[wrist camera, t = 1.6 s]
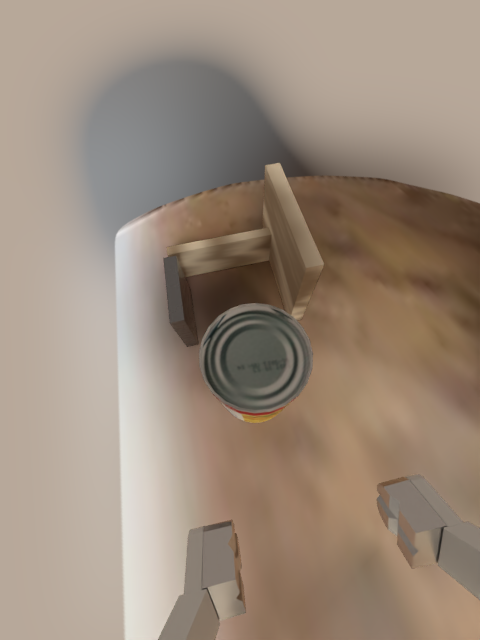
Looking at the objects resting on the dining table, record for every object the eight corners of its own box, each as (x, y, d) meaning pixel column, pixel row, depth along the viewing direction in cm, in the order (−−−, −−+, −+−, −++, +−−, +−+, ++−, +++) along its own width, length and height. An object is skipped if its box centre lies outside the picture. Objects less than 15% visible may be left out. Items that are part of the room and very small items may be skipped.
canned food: (304, 384, 28) (336, 350, 17) (256, 440, 26) (258, 442, 15) (252, 338, 31) (252, 284, 20) (204, 386, 28) (175, 354, 17)
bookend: (190, 289, 34) (176, 255, 28) (198, 344, 30) (184, 320, 24) (180, 291, 34) (163, 258, 27) (187, 346, 30) (169, 322, 24)
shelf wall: (272, 236, 37) (279, 162, 27) (301, 319, 31) (324, 264, 21) (175, 254, 36) (146, 186, 27) (186, 343, 31) (154, 298, 21)
